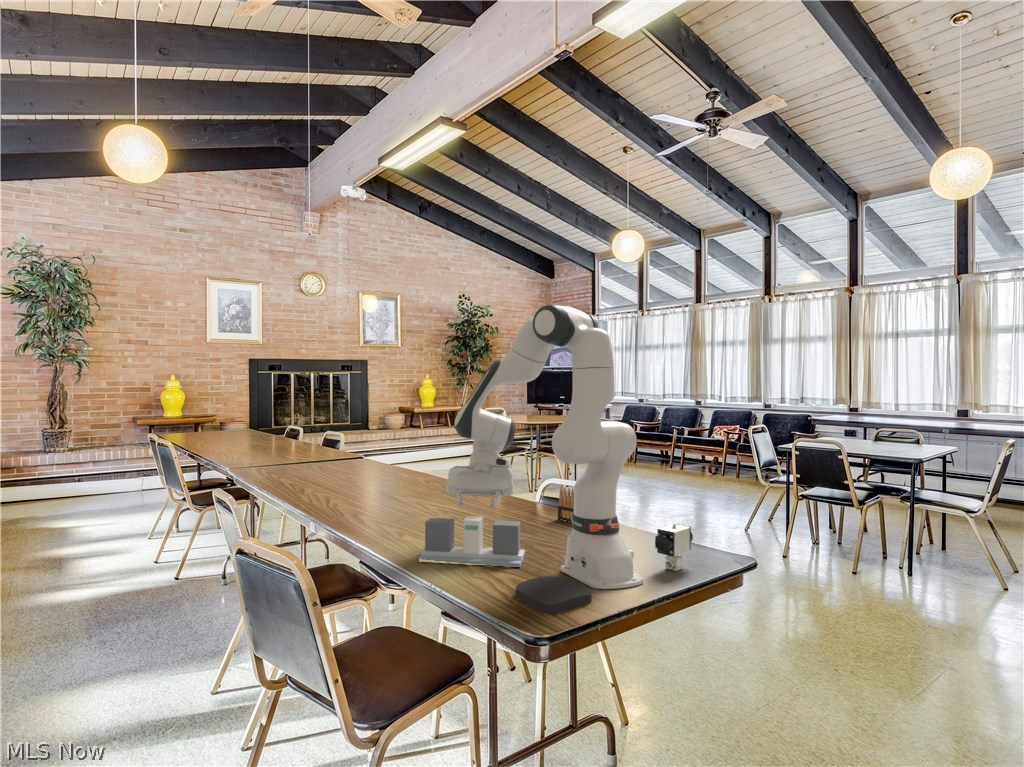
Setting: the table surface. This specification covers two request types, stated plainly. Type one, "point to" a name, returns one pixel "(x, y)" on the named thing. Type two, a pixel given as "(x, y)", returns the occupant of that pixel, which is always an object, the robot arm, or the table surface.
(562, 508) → the ammunition clip
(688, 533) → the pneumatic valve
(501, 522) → the twin block stand
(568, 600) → the media streaming box
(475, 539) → the block
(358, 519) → the table surface
